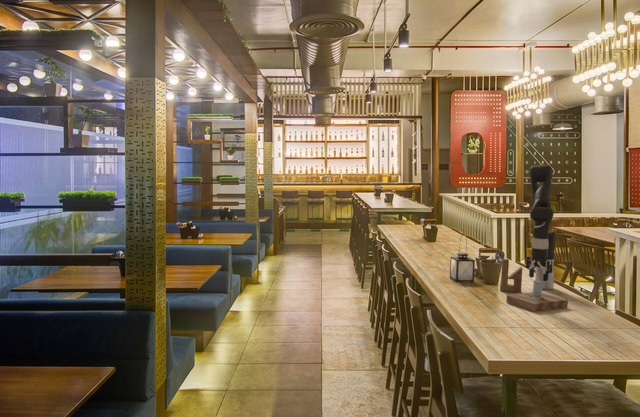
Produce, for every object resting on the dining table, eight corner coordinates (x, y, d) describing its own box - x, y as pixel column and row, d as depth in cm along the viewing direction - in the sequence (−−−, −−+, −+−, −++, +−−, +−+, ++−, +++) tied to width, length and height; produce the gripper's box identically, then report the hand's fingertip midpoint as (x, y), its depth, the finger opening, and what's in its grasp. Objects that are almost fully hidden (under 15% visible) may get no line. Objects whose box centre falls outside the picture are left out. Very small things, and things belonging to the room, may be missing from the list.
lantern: (466, 277, 313) (468, 233, 311) (474, 281, 302) (476, 235, 300) (449, 277, 312) (451, 233, 310) (456, 281, 301) (458, 235, 299)
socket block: (538, 298, 264) (539, 291, 263) (567, 307, 247) (568, 299, 247) (506, 302, 255) (506, 294, 255) (534, 312, 239) (534, 303, 238)
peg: (536, 303, 254) (537, 280, 253) (542, 305, 250) (544, 282, 249) (530, 304, 252) (531, 281, 251) (536, 306, 248) (537, 282, 247)
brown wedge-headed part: (521, 292, 277) (522, 260, 275) (500, 291, 279) (502, 259, 277) (519, 291, 280) (521, 259, 279) (499, 289, 282) (501, 258, 281)
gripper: (557, 249, 244) (555, 281, 245) (534, 244, 257) (532, 275, 258) (546, 249, 241) (544, 283, 242) (523, 245, 254) (521, 276, 255)
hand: (538, 279), depth 250 cm, fingers open, 8 cm apart
